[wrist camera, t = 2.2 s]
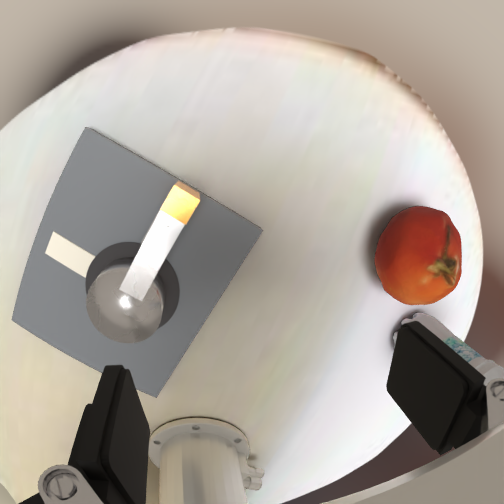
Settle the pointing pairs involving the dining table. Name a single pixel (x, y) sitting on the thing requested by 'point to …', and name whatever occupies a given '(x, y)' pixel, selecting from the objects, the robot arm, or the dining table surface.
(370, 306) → the dining table surface
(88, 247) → the panel
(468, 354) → the bottle
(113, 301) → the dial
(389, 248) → the tomato
